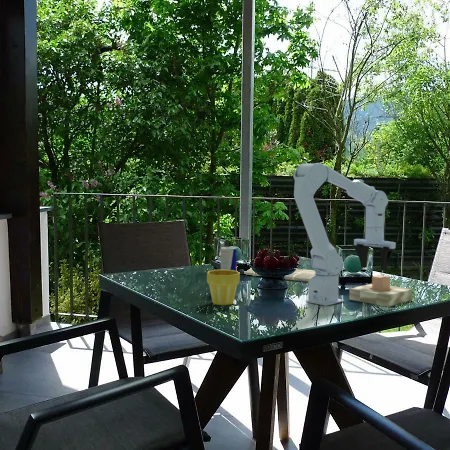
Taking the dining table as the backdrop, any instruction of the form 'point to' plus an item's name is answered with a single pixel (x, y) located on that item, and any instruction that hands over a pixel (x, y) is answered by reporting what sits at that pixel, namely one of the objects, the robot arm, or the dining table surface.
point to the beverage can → (228, 258)
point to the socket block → (380, 295)
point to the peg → (381, 283)
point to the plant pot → (223, 285)
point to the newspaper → (296, 276)
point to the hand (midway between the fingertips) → (373, 268)
